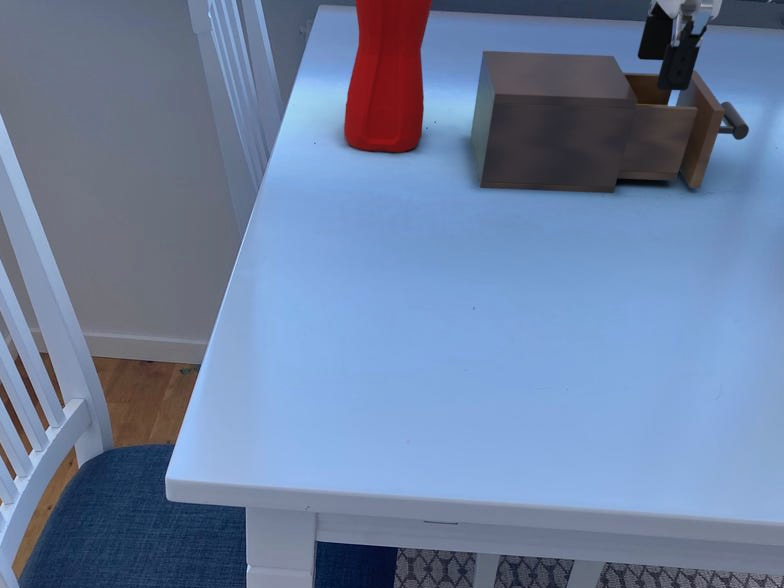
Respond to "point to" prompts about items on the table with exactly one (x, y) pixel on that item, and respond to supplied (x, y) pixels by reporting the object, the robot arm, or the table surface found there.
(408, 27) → the red bottle
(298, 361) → the table surface
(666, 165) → the drawer
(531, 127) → the cabinet
